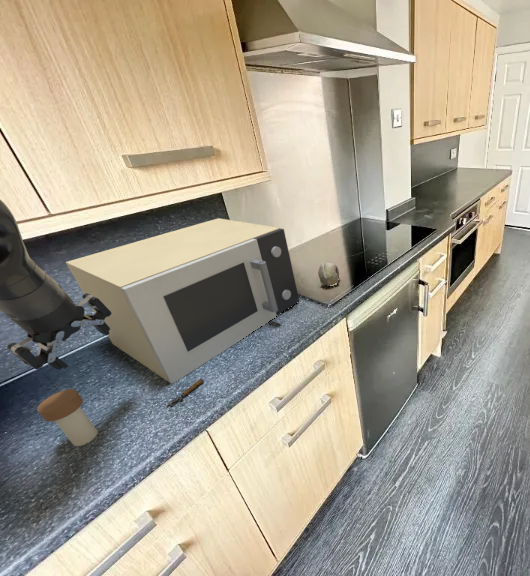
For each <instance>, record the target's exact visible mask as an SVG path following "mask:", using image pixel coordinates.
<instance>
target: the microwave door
mask: <svg viewBox="0 0 530 576" xmlns="http://www.w3.org/2000/svg"><path fill="white" fill-rule="evenodd" d="M121 289H122V291H123V293H124V295H125V297H126V299H127V301H128V303H129V305H130V307H131V309H132V310H133V312H134V314H135V316H136V318H137V320H138V322H139V324H140V326H141V328H142V330H143V332H144V334H145V336H146V338H147V340H148V342H149V344H150V346H151V348H152V350H153V352H154V354H155V356H156V358H157V360H158V362H159V364H160V365H161V367H162V369H163V371H164V373H165V375H166V377H167V379H168V381H169V382H168V381H167V382H168V383H170V384H171V385H173V384H174V383H176V382H178V381H179V380H181V379H182V378H184V377H186V376H187V375H189V374H190V373H192V372H194V371H195V370H196V369H198V368H200V367H202V366H203V365H205V364H206V363H208V362H209V361H211V360H213V359H214V358H216V357H217V356H218V355H220V354H221V353H223V352H225V351H227V350H229V349H230V348H231V347H233V346H234V345H236V344H238V343H239V342H240V340H241V341H242V340H244V339H245V338H247V337H248V335H249V334H250V335H252V334H253V333H254V332H253V331H255V330H256V329H258V328H260V327H261V326H263V325H264V324H266V323H267V322H269V321H270V320H272V319H273V318H275V317H276V316H277V315H276V312H277V311H278V308H277V304H276V300H275V296H274V292H273V288H272V284H271V280H270V277H269V273H268V269H267V265H266V262H265V261H262V258H261V254H260V250H259V246H258V242H257V239H251V240H248V241H246V242H243V243H240V244H238V245H235V246H232V247H230V248H227V249H224V250H221V251H219V252H216V253H213V254H211V255H208V256H205V257H203V258H200V259H197V260H195V261H192V262H189V263H187V264H184V265H181V266H178V267H176V268H173V269H170V270H168V271H165V272H162V273H160V274H157V275H154V276H152V277H149V278H146V279H143V280H141V281H138V282H135V283H133V284H130V285H127V286H125V287H122V288H121ZM277 317H278V316H277ZM275 319H276V318H275ZM272 321H273V320H272ZM269 323H270V322H269ZM267 324H268V323H267ZM267 324H266V325H267ZM264 326H265V325H264ZM264 326H263V327H264ZM261 328H262V327H261ZM261 328H260V329H261ZM258 330H259V329H258ZM256 331H257V330H256ZM256 331H255V332H256ZM252 332H253V333H252ZM251 333H252V334H251ZM250 335H249V336H250ZM246 336H247V337H246ZM243 338H244V339H243ZM237 342H238V343H237Z"/></svg>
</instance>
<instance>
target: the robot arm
mask: <svg viewBox="0 0 530 576" xmlns="http://www.w3.org/2000/svg"><path fill="white" fill-rule="evenodd" d="M85 308H89V309H92V308H93V309H94V310H95V311H96V313H95V312H94V314H86V313H85V311H86V310H85ZM93 309H92V310H93ZM0 312H1V313H3V315H5V316H6V317H7V318H9V320H11V321H12V322H13V323H14V324H16V325H17V326H19V327H20V328H21V329H22V330H23V331H25V332H26V334H27V337H26V338H24V339H23V340H22V341H20V342H18V343H17V342H11V343H8V345H7V350H9V351H10V352H11V353H12V354H13V355H14V356H16V357H17V358H18V359H19V360H20V361H21V362H22V363H24V364H25V365H28V366H30V367H32V369H34V370H40V369H41V368H42V367H43V366H44V365H46V364H48V365H49V366H51V367H52V368H54V369H56V370H61V369H64V370H65V369H67V368H68V367H69V365H68V364H67V363H66V362H64V361H63V360H62V359H61V358H59V357H58V356H57V355H58V352H59V351H60V350H61V346H62V342H65V341H67V340H68V339H69V338H70V337H72V335H74V334H75V333H78V332H80V330H81V327H94V328H95V329H96V330H97V332H99V333H100V334H102V335H104V336H107V337H108V334H110V333H109V332H108V331H109V330H110V328H109V326H108V325H107V324H106V323H105V318H106V317H109V316H110V315H111V314H112V313H111V311H110V310H109V309H108V308H107V307H106V306H105V305H104V304H103V303H102V302H101V301H100V300H99V299H98V298H96V297H94V296H92V295H90V294H88V293H85V294H84V293H83V295H82V300H80V301H79V302H78V303H75V301H74V300H73V299H72V298H71V297H70V295H68V293H67V292H66V291H65V290H64V289H63V287H62V286H61V284H59V283H58V282H57V281H56V280H55V279H54V278H53V277H52V276H50V275H49V274H47V273H46V272H45V271H44V270H43V269H42V267H40V266H39V264H38V263H37V262H36V261H35V259H33V258H32V257H31V255H30V254H29V252H28V249H27V247H26V245H25V242H24V239H23V237H22V234H21V230H20V228H19V225H18V223H17V220H16V218H15V216H14V214H13V212H12V211H11V209H10V208H9V206H7V204H6V203H5V202H4V201H3V200H2V199H1V198H0ZM34 344H36V345H37V347H38V350H37V355H34V354H33V353H34V347H33V346H34Z"/></svg>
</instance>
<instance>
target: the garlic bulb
mask: <svg viewBox="0 0 530 576" xmlns="http://www.w3.org/2000/svg"><path fill="white" fill-rule="evenodd" d="M317 275H318V278H319V283H320V285H321V286H325V285H327V286H326V287H328V286H330V285H333V284H335V283H338V284H339V282H338V279H339V280H340V270H339V268H338V265H336V264H335V263H333V262H328V261H323V262H322V263H321V264H320V266H319V267H318V271H317Z"/></svg>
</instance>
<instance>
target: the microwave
mask: <svg viewBox="0 0 530 576" xmlns="http://www.w3.org/2000/svg"><path fill="white" fill-rule="evenodd" d="M251 239H257V242H258V246H259V250H260V254H261V258H262V261H265V262H266V265H267V269H268V273H269V277H270V280H271V284H272V288H273V292H274V296H275V300H276V304H277V308H278V311H277V312H276V315H279V314H280V313H282V312H283V311H285V310H286V309H288V308H290V307H291V306H293V305H294V304H296V303H297V302H300V297H299V293H298V288H297V284H296V279H295V274H294V270H293V265H292V261H291V256H290V251H289V246H288V242H287V238H286V233H285V229H284V228H281V227H277V226H270V225H265V224H257V223H251V222H245V221H239V220H231V219H226V218H220V217H219V218H214V219H211V220H208V221H204V222H200V223H197V224H194V225H190V226H187V227H183V228H180V229H176V230H173V231H169V232H166V233H162V234H159V235H155V236H151V237H147V238H145V239H141V240H137V241H134V242H131V243H126V244H123V245H120V246H117V247H112V248H110V249H106V250H102V251H100V252H96V253H93V254H88V255H86V256H82V257H78V258H75V259H72V260H68V261H65V264H66V265H67V267H68V269H69V271H70V273H71V274H72V276H73V278H74V279H75V281H76V284H78V287H79V288H80V291H82V294H83V295H84V294H85V293H88V294H90V295H92V296H94V297H96V298H98V299H99V300H100V301H101V302H102V303H103V304H104V305H105V306H106V307H107V308H108V309H109V310H110V311H111V313H112V314H111V315H110V316H109V317H106V318H105V323H106V324H107V325H108V326H109V328H110V330H109V331H108V332H109V333H110V334H108V335H107V337H108V338H109V340H110V342H111V344H112V345H113V346H115V347H116V348H118V349H119V350H120V351H121V352H123V353H125V354H127V356H130V357H131V358H132V359H134V360H136V362H139V363H140V364H141V365H143V366H144V367H146V368H147V369H149V370H150V371H152V372H153V373H155V374H156V375H158V377H160V378H162V379H163V380H165V381H167V382H168V383H170V382H169V381H168V379H167V377H166V375H165V373H164V371H163V369H162V367H161V365H160V364H159V362H158V360H157V358H156V356H155V354H154V352H153V350H152V348H151V346H150V344H149V342H148V340H147V338H146V336H145V334H144V332H143V330H142V328H141V326H140V324H139V322H138V320H137V318H136V316H135V314H134V312H133V310H132V309H131V307H130V305H129V303H128V301H127V299H126V297H125V295H124V293H123V291H122V289H121V288H122V287H125V286H127V285H130V284H133V283H135V282H138V281H141V280H143V279H146V278H149V277H152V276H154V275H157V274H160V273H162V272H165V271H168V270H170V269H173V268H176V267H178V266H181V265H184V264H187V263H189V262H192V261H195V260H197V259H200V258H203V257H205V256H208V255H211V254H213V253H216V252H219V251H221V250H224V249H227V248H230V247H232V246H235V245H238V244H240V243H243V242H246V241H248V240H251ZM296 305H297V304H296ZM293 307H294V306H293ZM91 309H92V311H93V313H94V314H95V313H96V311H95V310H94V309H93V308H91ZM290 309H291V308H290ZM285 312H286V311H285ZM282 314H283V313H282ZM279 316H280V315H279Z"/></svg>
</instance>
